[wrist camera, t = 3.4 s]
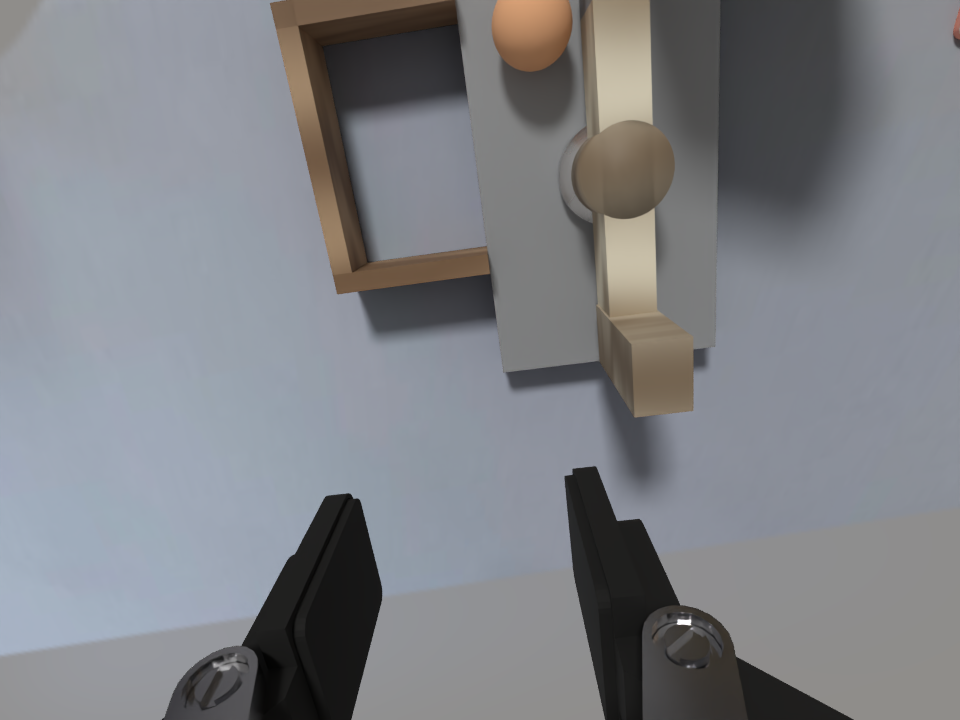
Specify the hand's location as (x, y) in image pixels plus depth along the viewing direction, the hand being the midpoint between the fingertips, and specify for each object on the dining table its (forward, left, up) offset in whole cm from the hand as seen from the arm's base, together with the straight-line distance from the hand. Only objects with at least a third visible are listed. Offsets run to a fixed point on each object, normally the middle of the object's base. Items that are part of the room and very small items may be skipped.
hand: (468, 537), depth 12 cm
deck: (+7, -7, -19) cm, 22 cm away
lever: (+7, -7, -16) cm, 19 cm away
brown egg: (+14, -4, -16) cm, 21 cm away
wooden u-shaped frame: (+10, +3, -19) cm, 22 cm away
